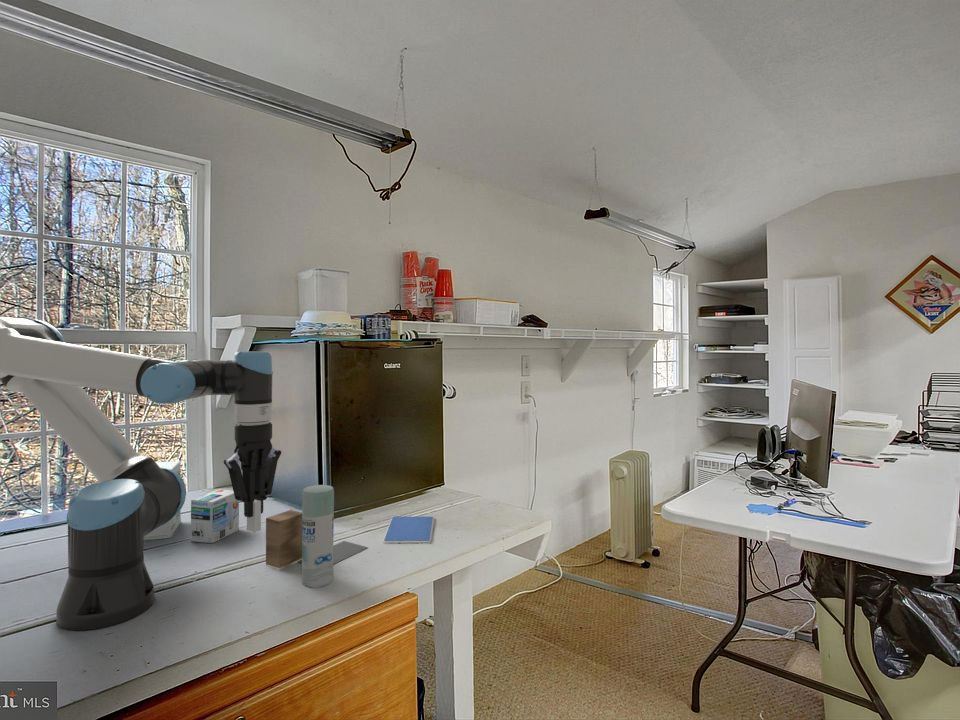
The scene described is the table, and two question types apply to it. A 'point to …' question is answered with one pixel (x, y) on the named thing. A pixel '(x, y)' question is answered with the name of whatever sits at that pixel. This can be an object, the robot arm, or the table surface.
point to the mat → (344, 551)
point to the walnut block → (283, 539)
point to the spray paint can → (317, 535)
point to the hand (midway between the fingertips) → (253, 530)
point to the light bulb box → (214, 516)
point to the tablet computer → (409, 530)
